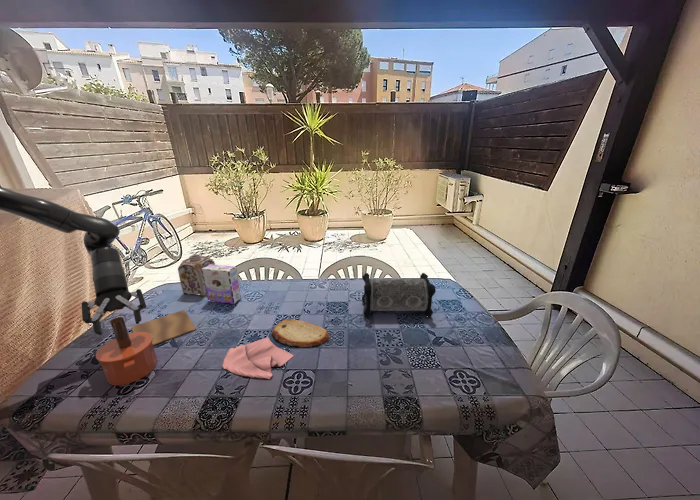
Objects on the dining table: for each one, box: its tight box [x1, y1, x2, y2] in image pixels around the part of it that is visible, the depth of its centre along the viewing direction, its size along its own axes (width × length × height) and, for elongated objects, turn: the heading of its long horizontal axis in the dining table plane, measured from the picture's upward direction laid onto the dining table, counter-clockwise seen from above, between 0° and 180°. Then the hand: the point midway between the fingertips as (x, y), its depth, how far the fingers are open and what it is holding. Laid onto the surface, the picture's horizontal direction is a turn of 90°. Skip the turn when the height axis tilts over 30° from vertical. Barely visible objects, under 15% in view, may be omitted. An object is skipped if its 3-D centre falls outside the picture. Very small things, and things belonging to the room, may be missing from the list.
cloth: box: [221, 336, 295, 380], centre depth 88 cm, size 20×22×2 cm
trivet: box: [131, 309, 197, 347], centre depth 104 cm, size 18×18×1 cm
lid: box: [95, 316, 153, 363], centre depth 80 cm, size 13×13×10 cm
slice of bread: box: [271, 318, 330, 348], centre depth 100 cm, size 18×18×4 cm
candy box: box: [202, 264, 242, 305], centre depth 122 cm, size 14×6×16 cm, turn 77°
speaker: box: [361, 272, 437, 319], centre depth 115 cm, size 15×29×15 cm, turn 91°
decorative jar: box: [177, 254, 216, 296], centre depth 131 cm, size 12×12×18 cm
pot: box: [99, 343, 158, 386], centre depth 83 cm, size 12×18×8 cm
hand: (119, 328), depth 79 cm, fingers open, 8 cm apart
